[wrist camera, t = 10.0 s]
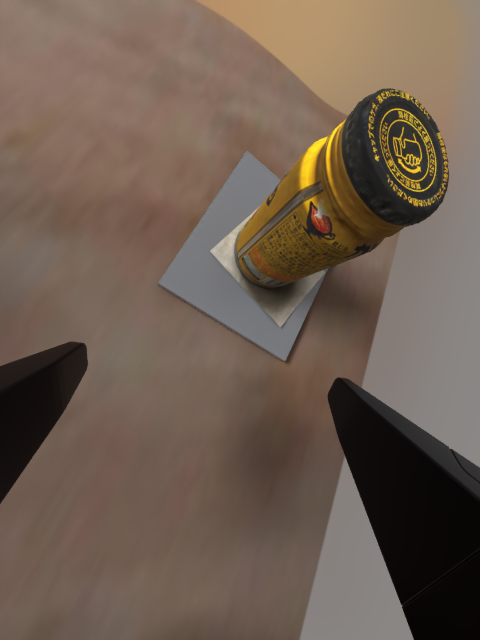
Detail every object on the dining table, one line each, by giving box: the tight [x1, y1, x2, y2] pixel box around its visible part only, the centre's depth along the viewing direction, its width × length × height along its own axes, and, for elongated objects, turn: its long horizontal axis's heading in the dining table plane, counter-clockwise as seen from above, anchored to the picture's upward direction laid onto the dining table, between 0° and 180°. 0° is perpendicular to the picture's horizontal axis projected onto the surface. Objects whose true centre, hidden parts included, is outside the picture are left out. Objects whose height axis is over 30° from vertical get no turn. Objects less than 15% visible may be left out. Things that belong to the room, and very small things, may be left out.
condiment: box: [210, 89, 449, 327], centre depth 14 cm, size 7×8×12 cm
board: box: [158, 151, 328, 361], centre depth 20 cm, size 14×12×1 cm
